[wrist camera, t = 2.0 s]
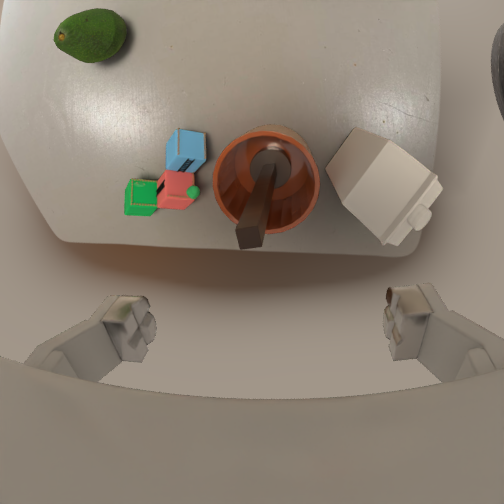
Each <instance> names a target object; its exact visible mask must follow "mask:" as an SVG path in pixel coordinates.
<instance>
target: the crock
mask: <svg viewBox="0 0 504 504" xmlns="http://www.w3.org/2000/svg"><path fill="white" fill-rule="evenodd" d="M267 146H275V147H279V148H281V149H283V150H284V151H285V152H286V153H287V154H288V156H289V157H290V160H291V175H290V178H289V179H288V181H287V182H286V183H285V184H284V185H283V186H281V187H279V188H277V189H274V191H273V196H272V201H271V206H270V211H269V215H268V220H267V225H266V230H265V234H273V233H280V232H284V231H286V230H289V229H291V228H294V227H295V226H297V225H298V224H299V223H301V222H302V221H303V220H305V219H306V217H307V216H308V215H309V214H310V212H311V211H312V210H313V208H314V206H315V204H316V201H317V199H318V196H319V189H320V178H319V172H318V168H317V165H316V163H315V161H314V158H313V156H312V153H311V151H310V149H309V147H308V145H307V143H306V142H305V141H304V139H303V138H302V137H301V136H300V135H299V134H298V133H296V132H295V131H293V130H292V129H290V128H287V127H285V126H281V125H275V124H268V125H262V126H258V127H256V128H254V129H252V130H250V131H248V132H246V133H245V134H243V135H241V136H240V137H238V138H237V139H235V140H234V141H233V142H232V143H230V144H229V145H228V146H227V147H226V148H225V149H224V150H223V152H222V153H221V155H220V156H219V158H218V160H217V162H216V165H215V168H214V172H213V190H214V194H215V198H216V201H217V202H218V204H219V206H220V208H221V210H222V211H223V213H224V214H225V215H226V216H227V217H228V218H229V219H230V220H231V221H232V222H234V223H235V224H238V222H239V220H240V218H241V215H242V213H243V211H244V208H245V206H246V204H247V202H248V199H249V197H250V195H251V192H252V190H253V188H254V186H255V182H254V180H253V179H252V177H251V174H250V163H251V161H252V159H253V157H254V156H255V154H256V153H257V152H258V151H259V150H260V149H262V148H264V147H267Z"/></svg>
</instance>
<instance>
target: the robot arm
mask: <svg viewBox="0 0 504 504" xmlns="http://www.w3.org/2000/svg"><path fill="white" fill-rule="evenodd" d="M386 300H387V303H388V306H387V307H386V308H385V309H384V316H383V327H384V332H385V336H386V338H388V339H389V340H390V344H389V349H390V352H391V356H392V359H393V361H398V360H407V359H417V358H418V359H417V360H418V361H419V362H420V363H422V364H423V365H424V366H425V367H426V368H427V369H428V370H429V371H430V372H431V373H432V374H434V375H435V376H436V377H437V378H438V379H439V380H440V381H441V382H442V383H440V384H435V385H429V386H424V387H418V388H412V389H405V390H399V391H392V392H384V393H377V394H367V395H357V396H346V397H330V398H310V399H236V398H216V397H202V396H190V395H179V394H169V393H161V392H154V391H146V390H139V389H132V388H126V387H120V386H114V385H109V384H104V383H99V382H98V381H99V380H101V379H102V378H103V377H104V376H105V375H107V374H108V373H109V372H110V371H111V370H113V369H114V368H115V367H116V366H118V365H119V364H120V363H121V362H122V361H129V362H142V361H143V359H144V357H145V355H146V353H147V352H148V347H147V345H148V344H150V343H151V342H152V341H153V340H154V338H155V336H156V329H157V327H156V321H155V318H154V316H153V315H152V314H151V313H150V312H149V308H150V304H149V302H148V299H147V298H146V297H144V296H123V295H122V296H120V295H110V296H107V298H106V299H105V300H104V301H103V302H102V304H101V305H100V306H99V307H98V309H97V310H96V311H95V312H94V313H93V315H92V316H91V317H90V319H89V320H84V321H82V322H80V323H79V324H77V325H75V326H73V327H71V328H69V329H68V330H66V331H64V332H62V333H60V334H58V335H56V336H55V337H53V338H51V339H49V340H47V341H45V342H44V343H42V344H40V345H38V346H37V347H36V348H35V350H34V351H33V352H32V354H31V355H30V356H29V357H28V359H27V360H26V361H25V362H24V364H23V363H20V362H16V361H13V360H10V359H7V358H4V357H1V356H0V504H504V339H503V338H501V337H499V336H497V335H496V334H494V333H492V332H490V331H488V330H487V329H485V328H483V327H482V326H480V325H478V324H476V323H474V322H473V321H471V320H469V319H467V318H465V317H464V316H462V315H460V314H458V313H456V312H455V311H449V310H448V309H447V307H446V305H445V304H444V302H443V301H442V299H441V297H440V296H439V294H438V293H437V291H436V289H435V288H434V286H433V285H432V284H431V283H423V284H416V285H408V286H399V287H389V288H388V290H387V294H386Z"/></svg>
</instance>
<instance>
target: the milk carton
mask: <svg viewBox="0 0 504 504" xmlns="http://www.w3.org/2000/svg"><path fill="white" fill-rule="evenodd" d="M325 170H326V172H327V174H328V176H329V178H330V180H331V182H332V184H333V186H334V188H335V190H336V192H337V194H338V196H339V198H340V200H341V202H342V205H344V206H345V207H346V208H347V209H348V210H349V211H350V212H351V213H352V214H353V215H354V216H355V217H356V218H358V219H359V220H360V221H361V222H362V223H363V224H364V225H365V226H366V227H367V228H368V229H369V230H370V231H371V232H372V233H373V234H374V235H375V236H376V237H377V238H378V239H379V240H380V242H381V244H382V245H383V246H384V245H385V244H386V243H390V244H393V245H396V246H398V245H399V244H400V243H401V242H402V240H403V239H404V238H405V237H406V236H407V235H408V233H409V232H410V231H411V230H412V228H414V229H415V230H416V231H419V230H421V229H422V228H423V227H424V226H425V225H426V224H427V222H428V221H429V219H430V218H431V215H432V214H431V211H430V210H429V209H428V208H429V207H430V206H431V204H432V203H433V202H434V201H435V199H436V198H437V197H438V195H439V194H440V193H441V191H442V190H443V187H442V186H441V185H440V183H439V182H438V180H437V178H438V176H437V175H435V174H434V173H432V172H431V171H430V170H428V169H427V168H426V167H425V166H423V165H422V164H421V163H420V162H418V161H417V160H416V159H415V158H413V157H412V156H411V155H410V154H408V153H407V152H406V151H404V150H403V149H402V148H400V147H399V146H398V145H396V144H395V143H394V142H392V141H391V140H388V139H386V138H383V137H381V136H378V135H376V134H373V133H371V132H368V131H365V130H363V129H360V128H357V127H355V128H354V129H353V130H352V132H351V133H350V134H349V136H348V137H347V139H346V140H345V141H344V143H343V144H342V146H341V147H340V148H339V150H338V151H337V153H336V154H335V155H334V157H333V158H332V159H331V161H330V162H329V164H328V165H327V166H326V168H325Z"/></svg>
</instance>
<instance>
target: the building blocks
mask: <svg viewBox="0 0 504 504" xmlns="http://www.w3.org/2000/svg"><path fill="white" fill-rule="evenodd" d="M205 134H206V133H199V132H194V131H188V130H182V129H180V128H178V129H176V130H175V132H174V133H173V135H172V136H171V138H170V139H169V141H168V142H167V144H166V169H167V170H165V172H164V173H163V174H162V176H161V177H160V178H159V180H158V181H155V180H154V181H153V180H144V179H143V180H141V179H133V178H132V179H130V181H129V183H128V185H127V187H126V189H125V206H124V214H125V215H134V216H151V215H152V214H153V213H154V211H155V210H156V209H157V208H167V209H182V210H183V209H185V208H187V207H188V206H189V205H190V204H191V203H192V202H193V201H194V200H195V198H197V196H199V194H200V190H199V188H198V187H197V186H195V183H194V172H195V171H196V170H197V169H198V168H199V167H200V166H201V165H202V164H203V163H204V162H205V161H206V158H207V157H206V137H205V136H206V135H205Z"/></svg>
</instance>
